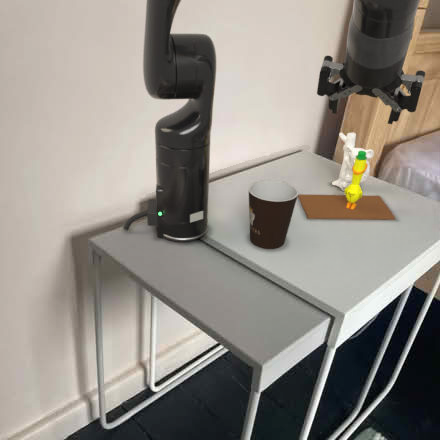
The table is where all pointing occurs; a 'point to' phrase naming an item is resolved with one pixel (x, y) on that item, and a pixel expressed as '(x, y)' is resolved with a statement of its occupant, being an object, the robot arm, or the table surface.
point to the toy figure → (356, 180)
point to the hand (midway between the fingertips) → (363, 113)
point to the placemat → (344, 207)
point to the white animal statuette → (351, 161)
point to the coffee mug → (270, 212)
